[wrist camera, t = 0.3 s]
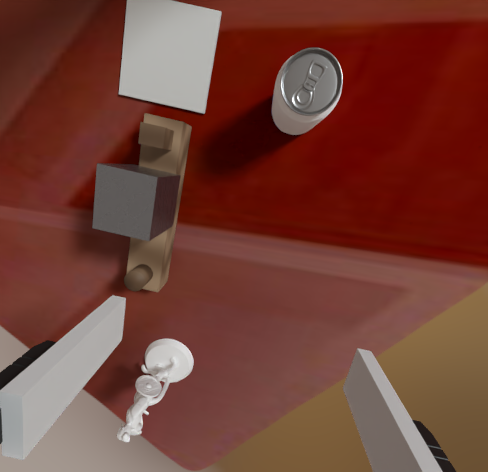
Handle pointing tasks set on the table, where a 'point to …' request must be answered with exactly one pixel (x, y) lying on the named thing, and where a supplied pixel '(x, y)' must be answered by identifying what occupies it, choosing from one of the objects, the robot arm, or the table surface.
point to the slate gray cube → (134, 200)
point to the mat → (168, 53)
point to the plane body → (174, 161)
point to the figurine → (156, 380)
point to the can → (306, 90)
